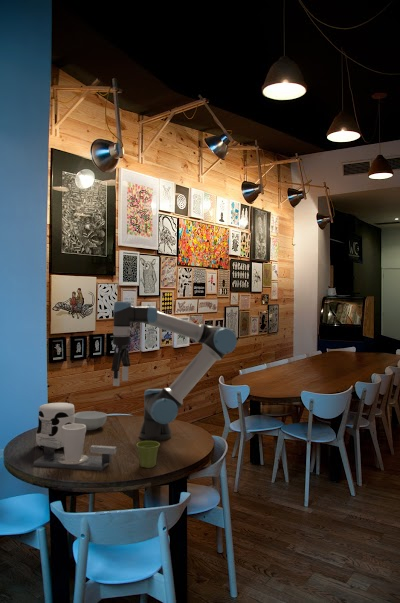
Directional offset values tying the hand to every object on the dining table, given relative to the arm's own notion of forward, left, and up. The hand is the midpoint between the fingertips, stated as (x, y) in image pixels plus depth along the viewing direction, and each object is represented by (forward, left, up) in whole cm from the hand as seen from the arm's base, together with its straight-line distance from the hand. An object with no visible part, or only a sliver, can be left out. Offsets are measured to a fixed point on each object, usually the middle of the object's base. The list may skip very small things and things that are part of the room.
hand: (120, 383), depth 220 cm
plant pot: (-18, +21, -29) cm, 40 cm away
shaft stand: (+12, +24, -29) cm, 39 cm away
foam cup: (+12, +24, -27) cm, 38 cm away
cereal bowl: (+24, -28, -29) cm, 47 cm away
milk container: (+28, +4, -29) cm, 41 cm away
